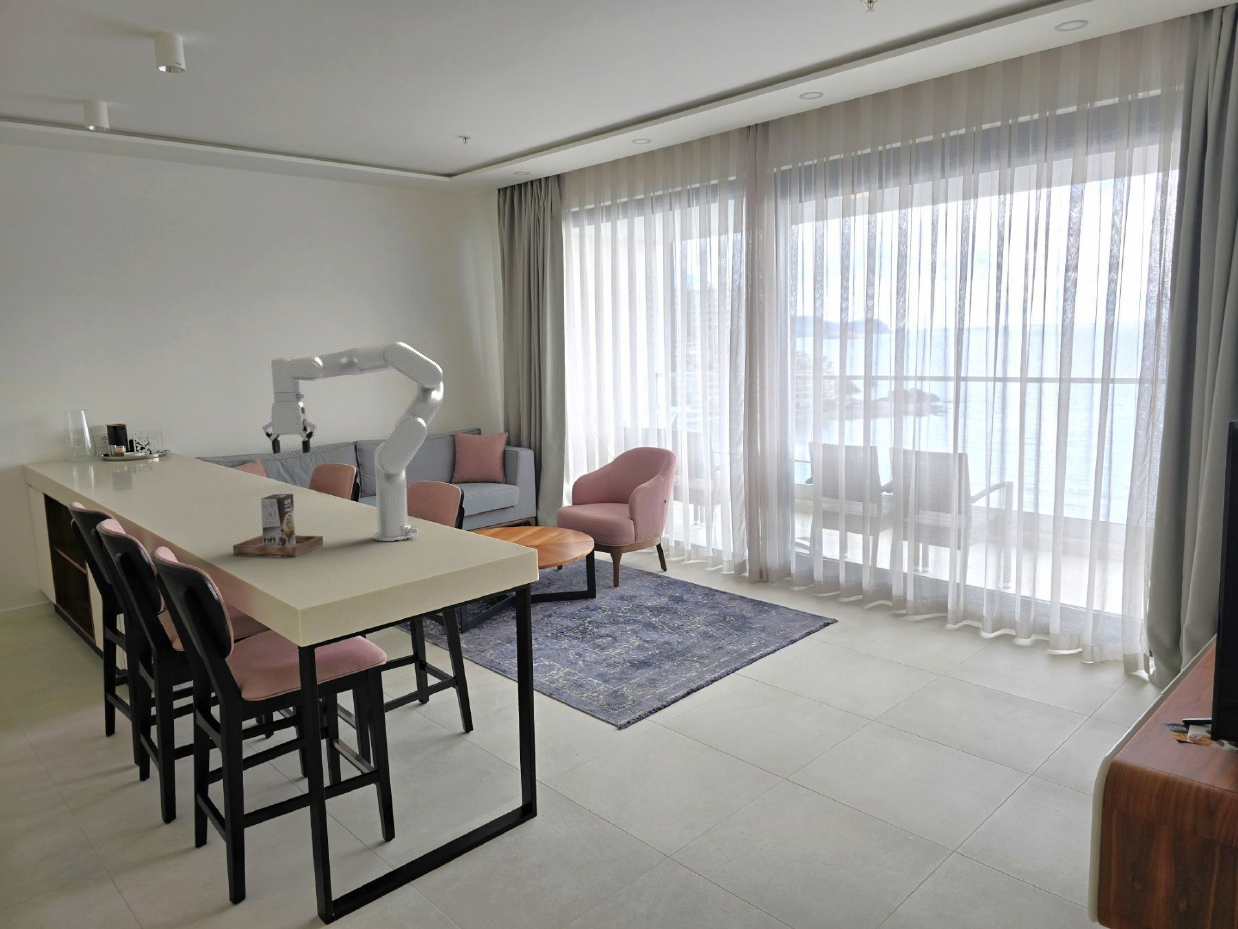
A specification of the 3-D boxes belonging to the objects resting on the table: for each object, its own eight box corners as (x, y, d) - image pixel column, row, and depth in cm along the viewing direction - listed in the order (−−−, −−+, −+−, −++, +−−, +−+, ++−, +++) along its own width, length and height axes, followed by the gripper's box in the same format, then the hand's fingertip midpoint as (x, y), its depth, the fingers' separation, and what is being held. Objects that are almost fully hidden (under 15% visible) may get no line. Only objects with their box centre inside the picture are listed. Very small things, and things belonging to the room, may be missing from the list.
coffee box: (283, 551, 245) (280, 498, 243) (262, 551, 245) (259, 498, 243) (296, 544, 254) (294, 493, 252) (276, 544, 254) (273, 493, 252)
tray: (323, 545, 256) (322, 536, 256) (295, 557, 240) (295, 547, 240) (264, 543, 259) (264, 534, 259) (233, 555, 243) (233, 545, 243)
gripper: (319, 396, 254) (323, 451, 256) (267, 397, 256) (271, 451, 258) (307, 398, 247) (312, 454, 249) (254, 399, 249) (258, 454, 251)
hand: (291, 453), depth 254 cm, fingers open, 9 cm apart
